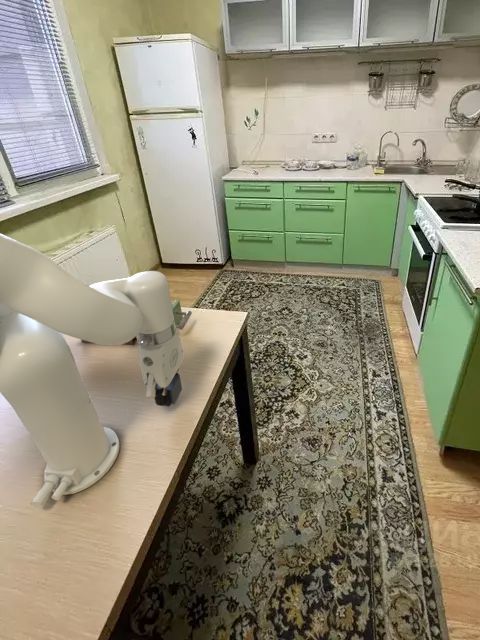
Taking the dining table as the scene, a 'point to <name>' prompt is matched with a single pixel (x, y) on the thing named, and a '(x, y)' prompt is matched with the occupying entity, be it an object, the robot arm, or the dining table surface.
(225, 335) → the dining table surface
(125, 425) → the dining table surface
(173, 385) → the block
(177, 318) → the drawer
